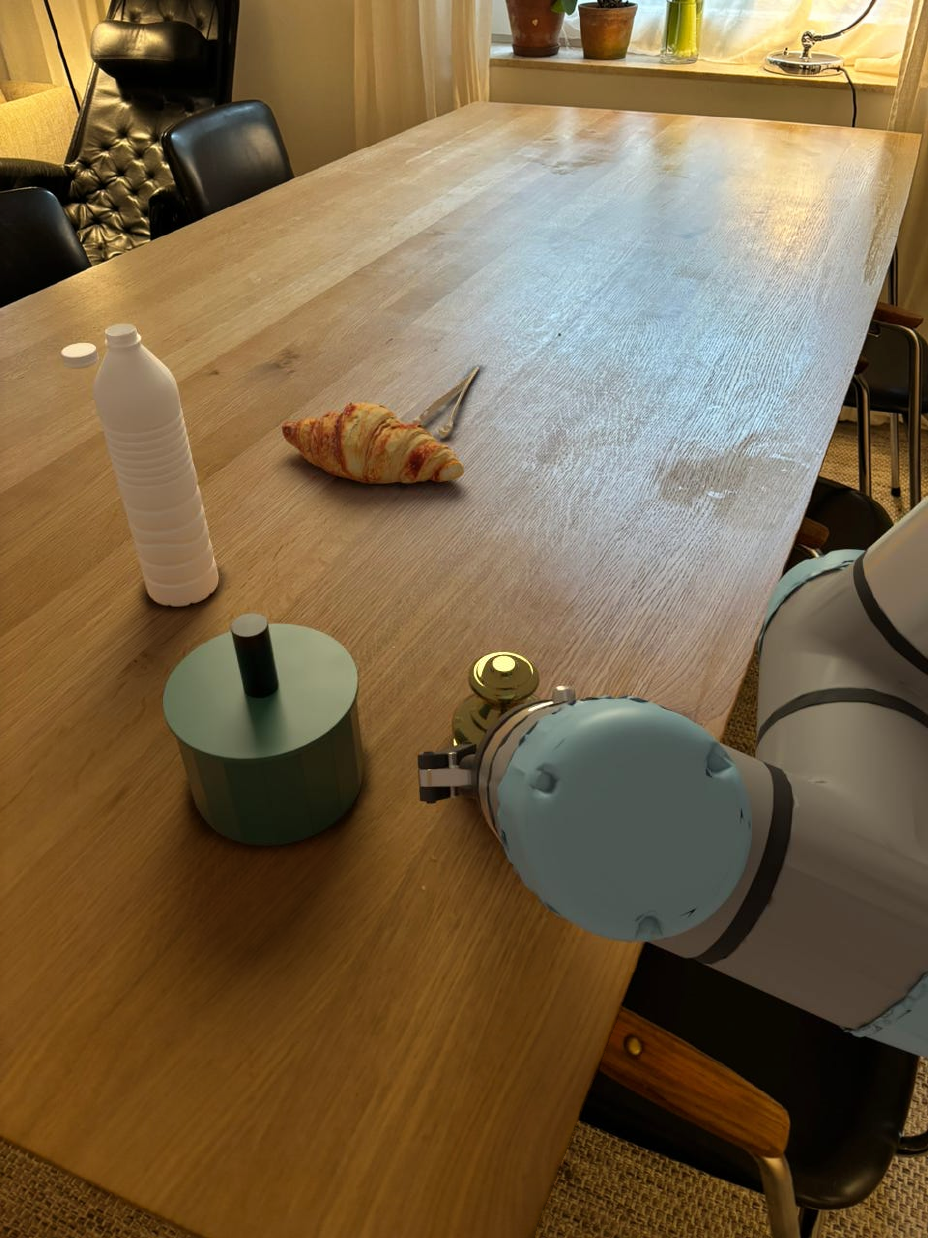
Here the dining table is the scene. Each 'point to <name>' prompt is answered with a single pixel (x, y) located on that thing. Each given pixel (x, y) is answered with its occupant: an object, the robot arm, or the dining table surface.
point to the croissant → (372, 446)
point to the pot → (280, 789)
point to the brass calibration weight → (493, 693)
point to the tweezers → (444, 399)
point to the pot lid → (260, 692)
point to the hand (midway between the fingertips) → (506, 753)
